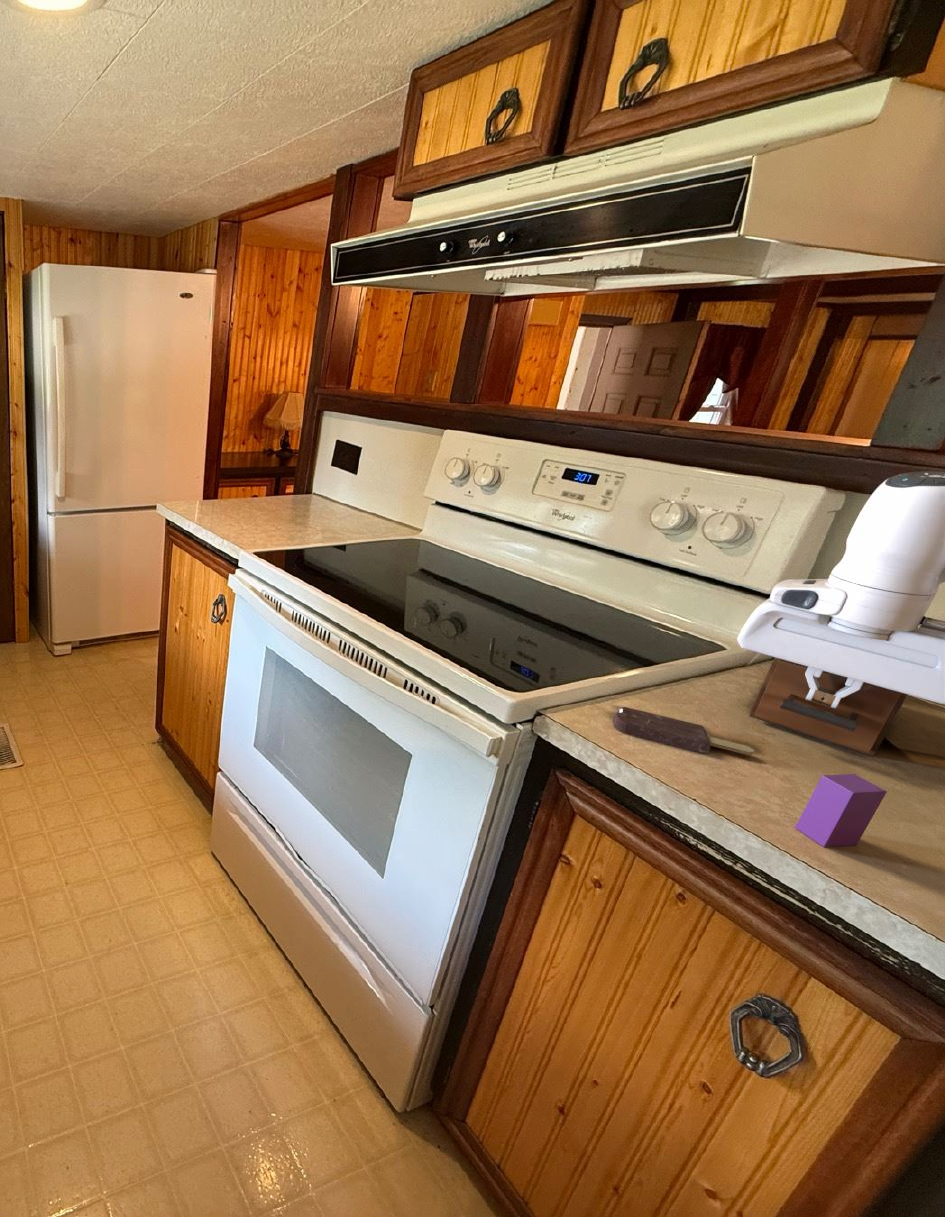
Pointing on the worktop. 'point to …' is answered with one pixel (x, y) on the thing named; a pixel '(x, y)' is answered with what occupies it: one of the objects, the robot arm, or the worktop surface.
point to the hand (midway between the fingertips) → (821, 702)
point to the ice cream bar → (671, 731)
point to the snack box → (840, 810)
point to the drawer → (826, 707)
